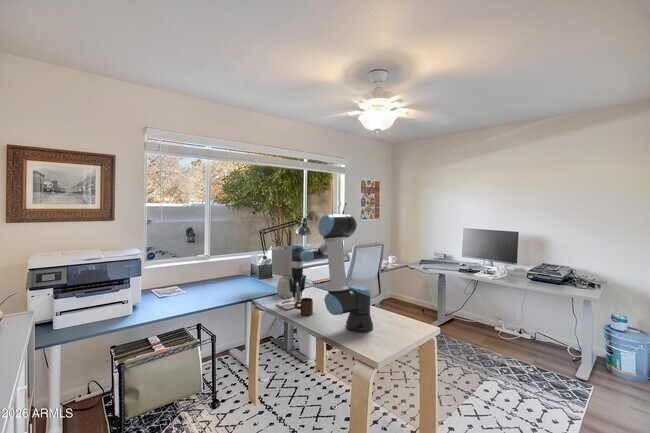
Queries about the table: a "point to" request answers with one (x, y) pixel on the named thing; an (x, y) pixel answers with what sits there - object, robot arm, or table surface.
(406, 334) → the table surface
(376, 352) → the table surface
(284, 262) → the lamp
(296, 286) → the marker
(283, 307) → the clipboard
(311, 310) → the mug
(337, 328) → the table surface
